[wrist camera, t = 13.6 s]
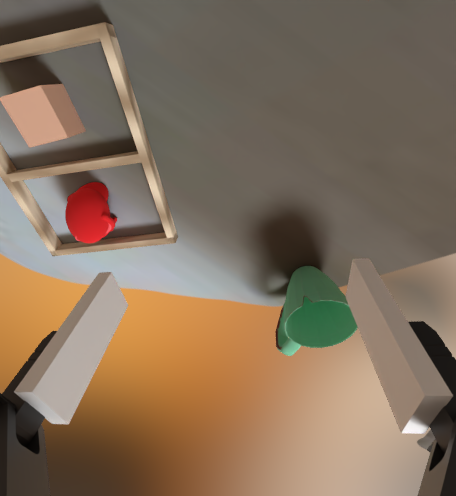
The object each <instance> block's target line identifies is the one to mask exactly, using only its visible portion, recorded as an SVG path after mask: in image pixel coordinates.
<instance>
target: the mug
mask: <svg viewBox="0 0 456 496" xmlns="http://www.w3.org/2000/svg"><path fill="white" fill-rule="evenodd" d="M357 328H358V326H357V324H356V322H355V319H354V317H353V314H352V312H351V309H350V307H349V305H348V302H347V300H346V296H345V295H344V294H343V293H342V292H341V291H340V289H339V288H338V287H337V285H336V284H335V283H334V282H333V281H332V280H331V279H330V278H329V277H328V276H327V275H325V274H324V273H323V272H321V271H320V270H319V269H317V268H315V267H313V266H303V267H300V268H298V269H296V270H295V271H294V272H293V274H292V276H291V279H290V282H289V285H288V289H287V294H286V301H285V304H284V306H283V308H282V310H281V314H280V318H279V321H278V325H277V329H276V347H277V349H278V350H279V351H280V352H282V353H283V354H285V355H289V356H291V355H293V354H294V353H295V352H296V351H297V350H298V349H299V348H300V346H306V347H310V348H322V347H328V346H333V345H336V344H338V343H341V342H343V341H344V340H346V339H348V338H349V337H351V336H352V335H353V333H354V332H355V331H356V330H357ZM288 337H289V338H288Z"/></svg>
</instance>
